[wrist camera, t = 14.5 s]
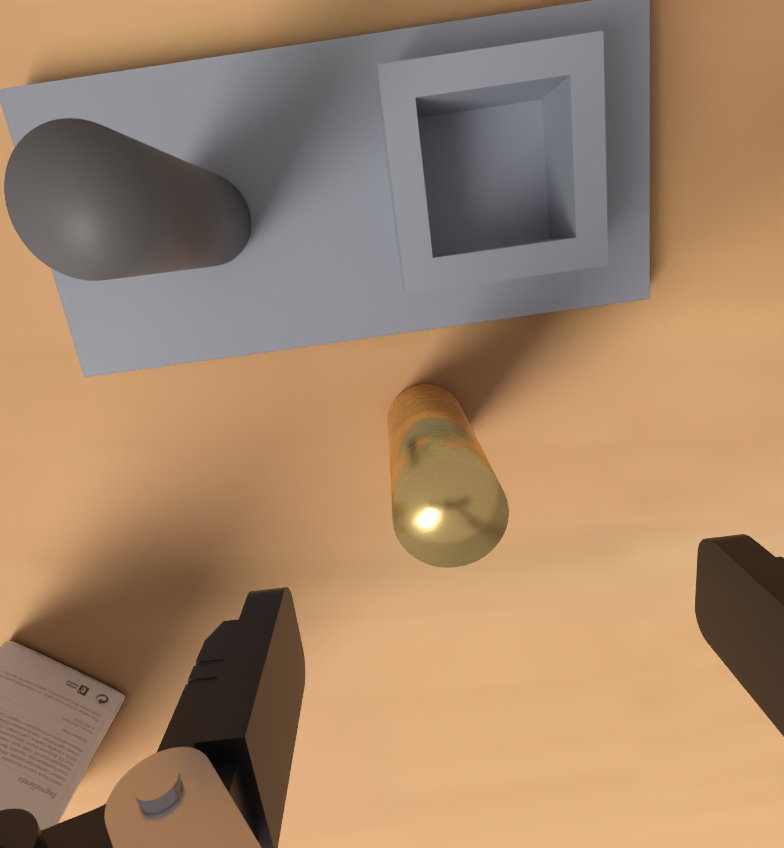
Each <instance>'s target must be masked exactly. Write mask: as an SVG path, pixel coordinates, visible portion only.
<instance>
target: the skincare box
mask: <svg viewBox="0 0 784 848" xmlns="http://www.w3.org/2000/svg"><path fill="white" fill-rule="evenodd" d="M124 699H125V695H124V694H122V693H120V692H118V691H116V690H115V689H113V688H111V687H109V686H107V685H105V684H103V683H101V682H99V681H97V680H94V679H92V678H90V677H88V676H86V675H84V674H82V673H80V672H78V671H76V670H74V669H72V668H70V667H68V666H66V665H63V664H61V663H59V662H57V661H55V660H53V659H50V658H48V657H46V656H44V655H42V654H40V653H38V652H36V651H34V650H31V649H29V648H27V647H25V646H22V645H20V644H18V643H16V642H13V641H6V642H5V643H4V644H3V645H2V646H1V647H0V811H1V810H5V809H14V808H15V809H23V810H26V811H29V812H30V813H31V814H33V815H34V817H35V819H36V820H37V822H38V825H39V827H40V829H41V830H44V829H46V828H49V827H51V826H54V825H56V824H58V822H59V821H60V819H61V817H62V815H63V813H64V811H65V809H66V807H67V806H68V804H69V802H70V800H71V798H72V796H73V794H74V792H75V791H76V789H77V787H78V785H79V783H80V781H81V779H82V777H83V775H84V773H85V771H86V769H87V767H88V766H89V764H90V762H91V760H92V758H93V756H94V754H95V752H96V750H97V749H98V747H99V745H100V743H101V741H102V740H103V738H104V736H105V734H106V732H107V731H108V729H109V727H110V725H111V723H112V722H113V720H114V718H115V716H116V714H117V712H118V711H119V709H120V707H121V705H122V703H123V701H124Z"/></svg>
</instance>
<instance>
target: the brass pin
mask: <svg viewBox="0 0 784 848" xmlns="http://www.w3.org/2000/svg"><path fill="white" fill-rule="evenodd" d="M388 433H389V454H390V474H391V494H392V514H393V525H394V530H395V533H396V535H397V538H398V540H399V541H400V543H401V544H402V546H403V547H404V548H405V549H406V550H407V551H408V552H409V553H410V554H411V555H412V556H414V557H415V558H416V559H418V560H420V561H422V562H424V563H427V564H429V565H433V566H438V567H459V566H464V565H467V564H470V563H473V562H475V561H477V560H479V559H481V558H482V557H484V556H485V555H487V554H488V553H489V552H490V551H491V550H493V549H494V548H495V546H496V545H497V544H498V543H499V541H500V540H501V538H502V536H503V534H504V532H505V530H506V527H507V523H508V516H509V509H508V502H507V499H506V496H505V493H504V491H503V489H502V487H501V485H500V483H499V481H498V479H497V477H496V475H495V473H494V471H493V469H492V467H491V465H490V463H489V461H488V460H487V458H486V456H485V454H484V452H483V450H482V448H481V446H480V444H479V442H478V440H477V438H476V436H475V434H474V432H473V430H472V428H471V426H470V424H469V422H468V420H467V418H466V416H465V414H464V412H463V410H462V408H461V406H460V404H459V402H458V401H457V399H456V398H455V397H454V395H453V394H452V393H450V392H449V391H448V390H446V389H445V388H443V387H440V386H437V385H433V384H420V385H415V386H412V387H410V388H408V389H406V390H405V391H403V392H402V393H401V394H399V395H398V397H397V398H396V399H395V400H394V402H393V403H392V405H391V408H390V410H389V415H388Z"/></svg>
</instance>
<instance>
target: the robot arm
mask: <svg viewBox="0 0 784 848" xmlns="http://www.w3.org/2000/svg"><path fill="white" fill-rule="evenodd" d="M695 613H696V618H697V622H698V625H699V628H700V631H701V633H702V635H703V637H704V638H705V640H706V641H707V643H708V644H709V645H710V646H711V648H712V649H713V650H714V651H715V652H716V654H717V655H718V656H719V657H720V659H721V660H722V661H723V662H724V664H725V665H726V666H727V667H728V668H729V670H730V671H731V672H732V673H733V675H734V676H735V677H736V678H737V680H738V681H739V682H740V683H741V684H742V686H743V687H744V688H745V689H746V691H747V692H748V693H749V694H750V696H751V697H752V698H753V699H754V700H755V702H756V703H757V704H758V705H759V707H760V708H761V709H762V710H763V712H764V713H765V714H766V715H767V716H768V718H769V719H770V720H771V721H772V723H773V724H774V725H775V726H776V728H777V729H778V730H779V731H780V732H781V734H782V735H783V736H784V558H783V557H775V556H773V555H772V554H771V553H770V552H769V551H767V550H766V549H765V548H764V547H762V546H761V545H760V544H759V543H757V542H756V541H755V540H754V539H752V538H751V537H750V536H748V535H745V534H741V535H733V536H724V537H716V538H707V539H703V540H702V541H701V542H700V544H699V547H698V558H697V577H696V597H695ZM304 685H305V660H304V652H303V647H302V642H301V637H300V633H299V628H298V623H297V618H296V613H295V608H294V603H293V599H292V595H291V592H290V590H289V588H288V587H285V588H277V589H268V590H260V591H251V592H249V594H248V596H247V598H246V601H245V604H244V607H243V609H242V612H241V615H240V617H239V620H230V621H223V622H222V623H221V625H220V626H219V627H218V628H217V629H216V630H215V631H214V632H213V633H212V634H211V635H210V636H209V637H208V638H207V639H206V640H205V642H204V644H203V646H202V649H201V651H200V653H199V656H198V658H197V660H196V666H194V667H193V670H192V672H191V674H190V677H189V679H188V684H187V685H186V686H185V688H184V690H183V693H182V695H181V697H180V700H179V702H178V704H177V707H176V709H175V711H174V714H173V716H172V718H171V721H170V723H169V725H168V728H167V730H166V732H165V734H164V737H163V739H162V741H161V744H160V746H159V748H158V751H157V753H155V754H153V755H151V756H149V757H147V758H145V759H144V760H142V761H141V762H139V763H138V764H136V765H135V766H134V767H133V768H132V769H130V770H129V771H128V772H127V773H126V774H125V775H124V776H123V777H122V778H121V780H120V781H119V782H118V783H117V785H116V786H115V788H114V789H113V791H112V792H111V794H110V796H109V799H108V801H107V803H106V804H105V805H103V806H101V807H99V808H96V809H94V810H92V811H89V812H87V813H84V814H82V815H79V816H77V817H74V818H72V819H69V820H67V821H64V822H61V823H59V824H56V825H54V826H51V827H49V828H46V829H44V830H41V829H40V827H39V825H38V822H37V820H36V819H35V817H34V815H33V814H31V813H30V812H29V811H26V810H23V809H15V808H14V809H5V810H1V811H0V848H278V842H279V836H280V830H281V824H282V818H283V812H284V806H285V800H286V794H287V788H288V782H289V776H290V770H291V764H292V758H293V752H294V746H295V740H296V734H297V728H298V722H299V716H300V710H301V704H302V698H303V692H304Z"/></svg>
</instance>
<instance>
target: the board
mask: <svg viewBox="0 0 784 848" xmlns="http://www.w3.org/2000/svg"><path fill="white" fill-rule="evenodd" d="M0 102H1V105H2V109H3V112H4V115H5V119H6V122H7V125H8V128H9V132H10V135H11V138H12V142H13V145H14V148H15V149H14V150H13V152H12V154H11V156H10V159H9V161H8V165H7V168H6V173H5V181H4V193H5V200H6V205H7V209H8V213H9V216H10V219H11V221H12V224H13V226H14V228H15V230H16V232H17V234H18V235H19V237H20V238H21V240H22V241H23V243H24V244H25V245H26V246H27V247H28V249H29V250H30V251H31V252H32V253H33V254H34V255H35V256H36V257H37V258H38V259H39V260H41V261H42V262H43V263H45V264H46V265H47V266H49V267H50V268H51V269H52V273H53V276H54V279H55V283H56V286H57V289H58V292H59V296H60V299H61V302H62V306H63V309H64V312H65V315H66V319H67V322H68V325H69V328H70V332H71V335H72V338H73V342H74V345H75V348H76V351H77V355H78V358H79V361H80V365H81V368H82V371H83V374H84V377H91V376H98V375H105V374H112V373H120V372H127V371H134V370H141V369H148V368H156V367H163V366H170V365H177V364H184V363H191V362H199V361H206V360H213V359H220V358H227V357H235V356H242V355H249V354H256V353H263V352H271V351H278V350H285V349H292V348H299V347H306V346H314V345H321V344H328V343H335V342H342V341H350V340H357V339H364V338H371V337H378V336H386V335H393V334H400V333H407V332H414V331H421V330H429V329H436V328H443V327H450V326H457V325H465V324H472V323H479V322H486V321H493V320H501V319H508V318H515V317H522V316H529V315H537V314H544V313H551V312H558V311H565V310H572V309H580V308H587V307H594V306H601V305H608V304H616V303H623V302H630V301H637V300H644V299H650V0H590V1H584V2H577V3H570V4H564V5H557V6H550V7H544V8H537V9H530V10H524V11H517V12H510V13H504V14H497V15H490V16H484V17H477V18H470V19H464V20H457V21H450V22H444V23H437V24H430V25H424V26H417V27H410V28H404V29H397V30H390V31H384V32H377V33H370V34H364V35H357V36H350V37H344V38H337V39H330V40H324V41H317V42H310V43H304V44H297V45H290V46H284V47H277V48H270V49H264V50H257V51H250V52H244V53H237V54H230V55H224V56H217V57H210V58H204V59H197V60H190V61H184V62H177V63H170V64H164V65H157V66H150V67H144V68H137V69H130V70H124V71H117V72H110V73H104V74H97V75H90V76H84V77H77V78H70V79H64V80H57V81H50V82H44V83H37V84H30V85H24V86H17V87H10V88H4V89H0Z"/></svg>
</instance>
